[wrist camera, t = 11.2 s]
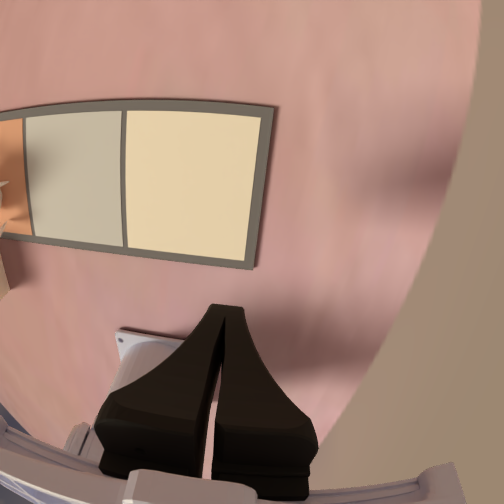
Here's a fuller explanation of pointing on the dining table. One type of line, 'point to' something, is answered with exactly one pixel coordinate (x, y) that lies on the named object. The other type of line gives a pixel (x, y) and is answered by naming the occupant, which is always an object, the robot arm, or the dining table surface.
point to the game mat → (137, 178)
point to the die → (3, 281)
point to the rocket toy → (0, 229)
